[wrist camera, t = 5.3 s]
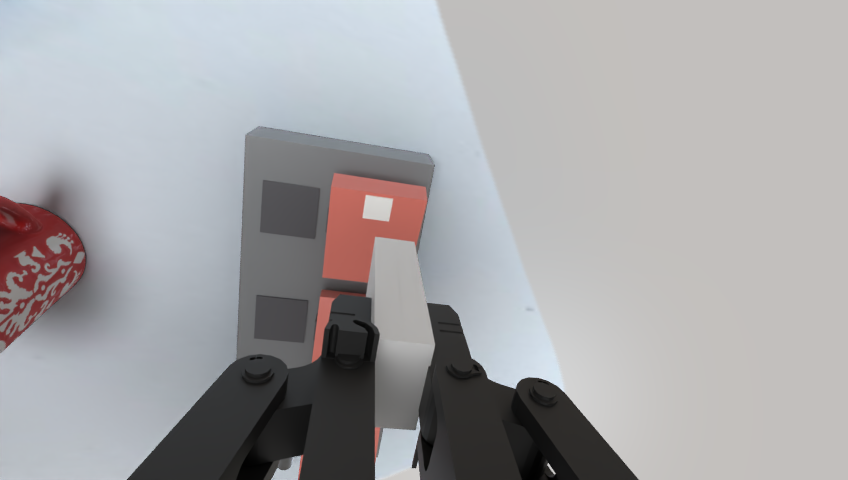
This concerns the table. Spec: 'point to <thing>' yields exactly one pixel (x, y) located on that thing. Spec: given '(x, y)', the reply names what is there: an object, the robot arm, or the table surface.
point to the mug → (33, 265)
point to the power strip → (299, 234)
